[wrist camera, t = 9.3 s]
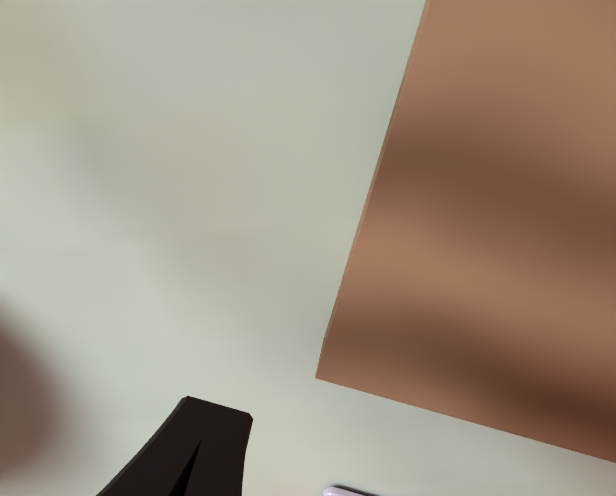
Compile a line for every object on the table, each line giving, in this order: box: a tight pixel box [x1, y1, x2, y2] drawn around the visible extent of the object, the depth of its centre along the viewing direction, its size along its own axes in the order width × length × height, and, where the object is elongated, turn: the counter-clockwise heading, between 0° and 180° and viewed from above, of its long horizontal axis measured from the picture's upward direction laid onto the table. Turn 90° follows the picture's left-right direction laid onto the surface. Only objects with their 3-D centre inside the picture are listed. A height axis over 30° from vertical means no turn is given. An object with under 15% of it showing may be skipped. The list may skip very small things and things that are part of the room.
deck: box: [315, 0, 616, 463], centre depth 16 cm, size 16×12×2 cm
